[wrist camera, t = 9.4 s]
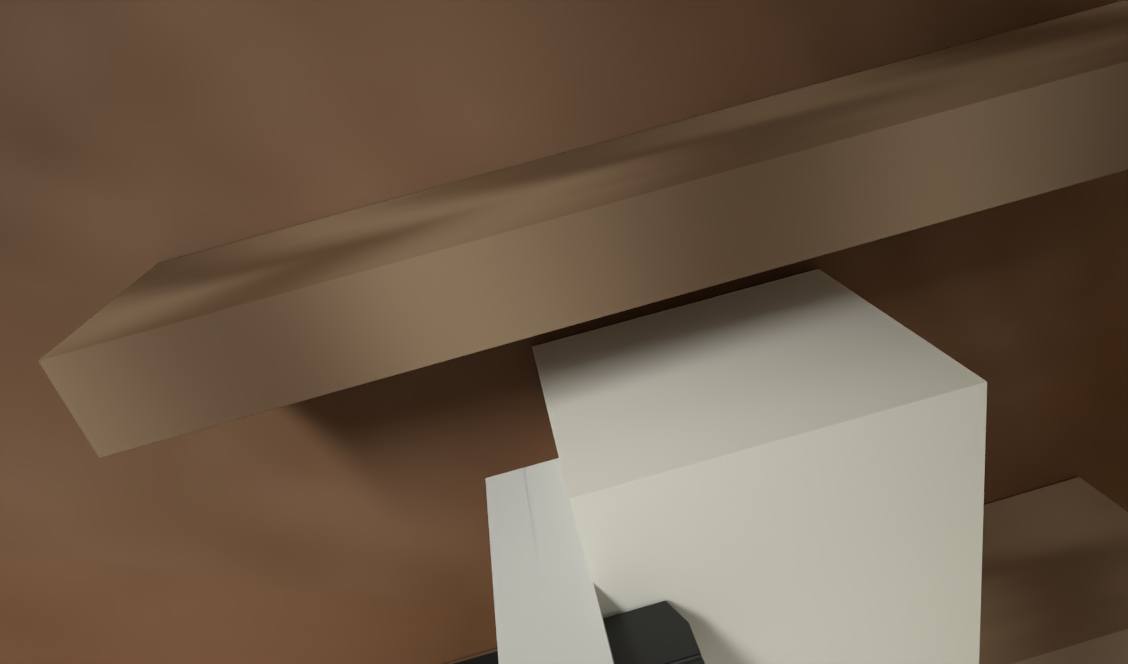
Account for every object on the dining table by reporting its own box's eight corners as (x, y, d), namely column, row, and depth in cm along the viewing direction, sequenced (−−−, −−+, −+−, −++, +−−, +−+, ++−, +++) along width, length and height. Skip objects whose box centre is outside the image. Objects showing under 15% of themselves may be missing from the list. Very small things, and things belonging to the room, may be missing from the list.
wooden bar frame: (459, 852, 20) (461, 1036, 16) (158, 262, 12) (37, 360, 9) (1062, 668, 21) (1193, 807, 17) (1120, 0, 13) (1378, -8, 9)
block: (593, 570, 17) (646, 775, 12) (531, 346, 14) (569, 499, 10) (837, 501, 17) (978, 676, 12) (818, 269, 14) (986, 381, 10)
